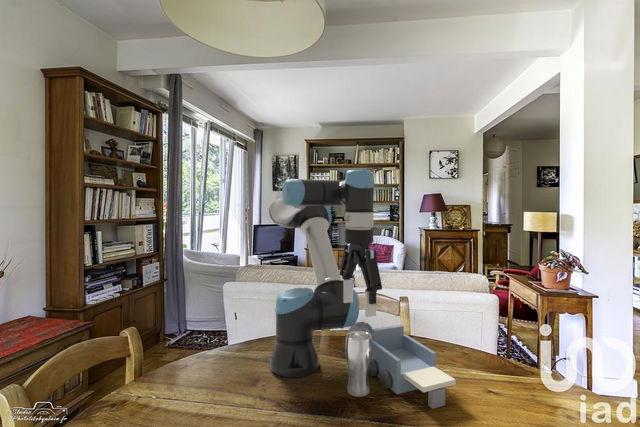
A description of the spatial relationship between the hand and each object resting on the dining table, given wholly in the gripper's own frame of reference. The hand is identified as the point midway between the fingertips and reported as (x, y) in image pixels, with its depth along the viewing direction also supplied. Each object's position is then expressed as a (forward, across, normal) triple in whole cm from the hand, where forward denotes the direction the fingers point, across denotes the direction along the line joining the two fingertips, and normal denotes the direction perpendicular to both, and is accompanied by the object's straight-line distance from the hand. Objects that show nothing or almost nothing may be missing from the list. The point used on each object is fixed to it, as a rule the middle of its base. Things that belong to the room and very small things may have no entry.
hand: (358, 308), depth 89 cm
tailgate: (+17, +6, +15) cm, 24 cm away
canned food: (+23, -22, +13) cm, 35 cm away
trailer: (+22, +2, +15) cm, 27 cm away
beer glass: (+23, 0, 0) cm, 23 cm away
